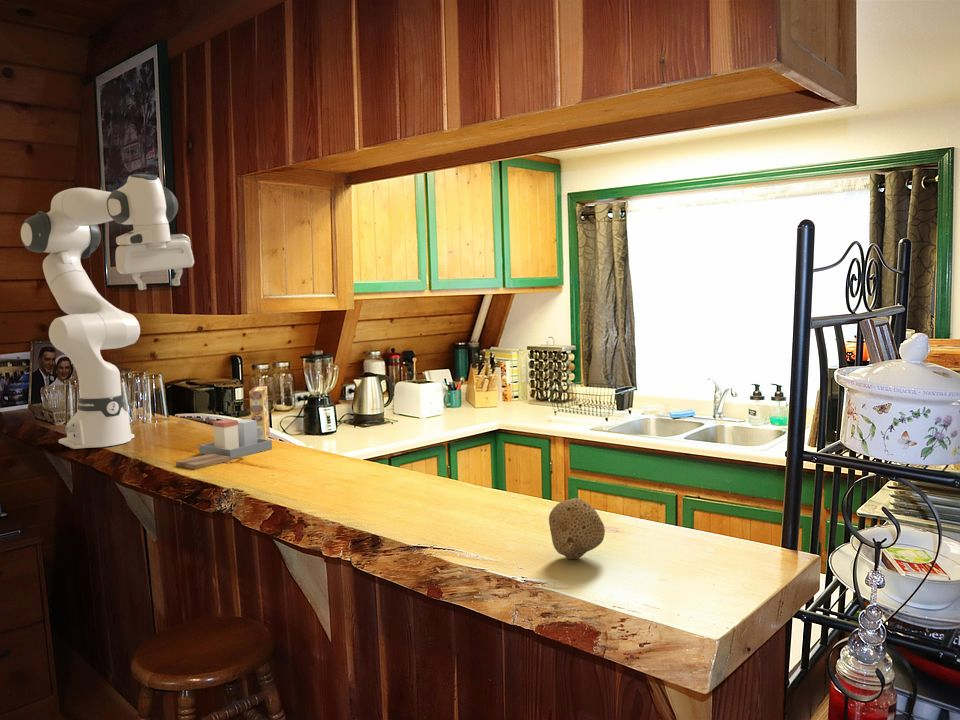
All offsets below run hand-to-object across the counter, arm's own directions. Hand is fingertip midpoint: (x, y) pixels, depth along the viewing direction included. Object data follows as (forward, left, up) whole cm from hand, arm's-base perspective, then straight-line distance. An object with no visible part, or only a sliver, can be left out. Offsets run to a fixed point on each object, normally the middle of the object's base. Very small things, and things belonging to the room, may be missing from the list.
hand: (159, 287), depth 209 cm
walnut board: (+18, -3, -46) cm, 49 cm away
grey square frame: (+14, +11, -46) cm, 49 cm away
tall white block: (+14, +14, -46) cm, 50 cm away
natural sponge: (+133, -16, -46) cm, 142 cm away
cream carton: (+14, +8, -46) cm, 49 cm away
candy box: (+6, +26, -46) cm, 54 cm away
